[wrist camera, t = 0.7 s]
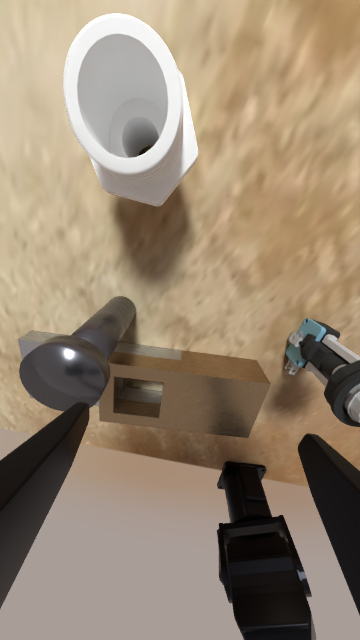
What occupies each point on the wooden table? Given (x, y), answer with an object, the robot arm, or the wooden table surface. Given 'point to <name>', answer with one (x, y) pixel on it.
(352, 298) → the wooden table surface
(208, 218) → the wooden table surface
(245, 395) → the tan and silver block
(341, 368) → the push button
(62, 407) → the metal knob
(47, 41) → the wooden table surface
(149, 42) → the pipe fitting
